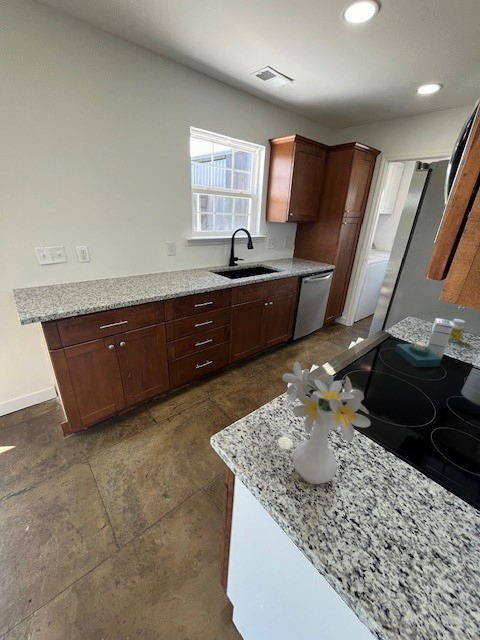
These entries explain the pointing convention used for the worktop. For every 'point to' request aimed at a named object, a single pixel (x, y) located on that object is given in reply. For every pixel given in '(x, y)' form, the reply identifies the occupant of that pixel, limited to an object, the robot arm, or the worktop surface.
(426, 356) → the cap block
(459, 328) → the supplement bottle
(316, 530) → the worktop surface
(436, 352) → the syrup box
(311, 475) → the flower vase
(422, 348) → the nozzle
